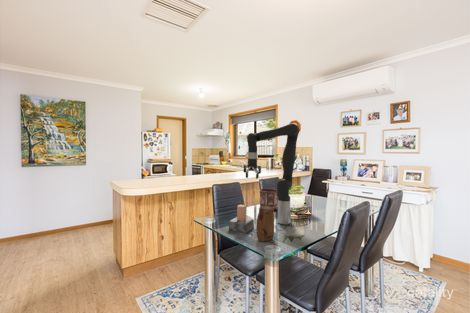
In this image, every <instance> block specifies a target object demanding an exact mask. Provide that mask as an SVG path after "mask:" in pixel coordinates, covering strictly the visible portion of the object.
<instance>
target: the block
mask: <svg viewBox="0 0 470 313" xmlns="http://www.w3.org/2000/svg"><path fill="white" fill-rule="evenodd" d="M258 209H259V210H258V214H257V217H256V228H255V229H256V234H255V235H256V238H257V240H258V241H259V242H268V241H271V240H273V239H274V237H275V236H274V234H275V213H274V212H275V210H274V209H273V208H271V207H269V206H262V207H261V206H260V207H259V208H258Z"/></svg>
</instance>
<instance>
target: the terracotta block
mask: <svg viewBox="0 0 470 313" xmlns="http://www.w3.org/2000/svg"><path fill="white" fill-rule="evenodd" d="M236 207H237V208H236V210H237V211H236V217H237V220H239V221H245V220H246V218H247V208H248V207H247V205H246V204H238V205H236Z"/></svg>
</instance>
